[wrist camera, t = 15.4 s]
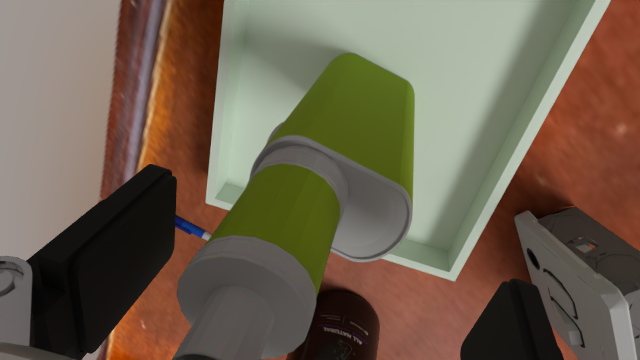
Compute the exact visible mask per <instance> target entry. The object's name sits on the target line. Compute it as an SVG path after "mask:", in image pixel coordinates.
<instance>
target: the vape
mask: <svg viewBox="0 0 640 360" xmlns="http://www.w3.org/2000/svg"><path fill="white" fill-rule="evenodd" d="M414 117H415V93H414V89H413V87H412V85H411V83H410V82H409V81H408V80H406V79H404V78H402V77H400V76H398V75H396V74H394V73H392V72H390V71H388V70H387V69H385V68H383V67H381V66H379V65H377V64H375V63H373V62H371V61H369V60H367V59H366V58H364V57H362V56H360V55H358V54H356V53H350V52H349V53H343V54H341V55H339V56H337V57H336V58H334V59H333V60H332V61H331V62H330V64H329V65H328V66H327V67H326V69H325V70H324V71H323V72H322V74H321V75H320V76H319V78H318V79H317V80H316V82H315V83H314V84H313V85H312V87H311V88H310V89H309V91H308V92H307V93H306V94H305V96H304V97H303V98H302V100H301V101H300V102H299V103H298V105H297V106H296V107H295V109H294V110H293V111H292V112H291V114H290V115H289V116H288V118H287V119H286V120H285V122H282V123H280V124H279V125H278V126H277V127H276V128H275V129H274V130H273V131H272V133H271V135H270V136H269V138H268V141H267V143H266V145H265V147H264V149H263V150H262V151H261V153H260V154H259V155H258V157H257V158H256V160H255V162H254V164H253V166H252V169H251V173H250V178H249V181H248V184H247V186H246V189H245V190H244V191H243V193H242V194H241V196H240V197H239V198H238V200H237V201H236V203H235V204H234V205H233V207H232V208H231V210H230V211H229V212H228V214H227V215H226V216H225V218H224V219H223V221H222V222H221V223H220V225H219V226H218V228H217V229H216V230H215V232H214V233H213V235H212V236H211V237H210V239H209V240H208V241H207V243H206V244H205V246H203V247H201V249H200V250H199V251H198V253H197V254H196V255H195V257H194V258H193V259H192V261H191V262H190V263H189V265H188V267H187V268H186V269H185V271H184V272H183V274H182V276H181V277H180V279H179V281H178V290H177V297H178V301H179V304H180V308H181V311H182V313H183V314H184V316H185V317H186V319H187V320H188V322H189V323H190V325H191V326H192V327H191V329H190V330H189V332H188V334H187V335H186V337H185V339H184V340H183V342H182V344H181V345H180V347H179V349H178V350H177V352H176V354H175V355H174V357H173V359H172V360H260V359H263V358H276V357H280V356H282V355H285V354H288V353H290V352H293V351H294V350H295V349H296V348H297V347H298V346H299V345H300V344H302V343H303V342H304V341H305V338H306V336H307V333H308V330H309V328H310V324H311V322H312V318H313V315H314V311H315V307H316V298H317V295H318V291H319V288H320V284H321V281H322V278H323V274H324V271H325V267H326V264H327V260H328V257H329V253H330V251H332V252H334V253H336V254H338V255H340V256H342V257H344V258H346V259H348V260H350V261H354V262H370V261H374V260H377V259H380V258H382V257H384V256H386V255H388V254H389V253H391V252H392V251H393V250H394V249H396V248H397V247H398V246H399V245H400V244H401V242H402V241H403V240H404V238H405V237H406V235H407V233H408V231H409V229H410V226H411V222H412V215H413V168H414Z"/></svg>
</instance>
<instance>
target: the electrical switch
mask: <svg viewBox="0 0 640 360" xmlns="http://www.w3.org/2000/svg"><path fill="white" fill-rule="evenodd" d="M514 221H515V224H516V228H517V232H518V235H519V239H520V242H521V246H522V249H523V253H524V256H525V260H526V263H527V267H528V271H529V274H530V278H531V281H532V284H534V285H536V286H537V287H538V289H539V292H540V295H541V298H542V301H543V304H544V307H545V310H546V313H547V316H548V319H549V322H550V324H551V325H552V327H553V328H554V329H555V331H556V332H557V333H558V334H559V335H560V337H561V338H562V339H563V340H564V342H565V343H566V344H567V345H568V347H569V348H570V349H571V350H572V351H573V353H574V354H575V355H576V356H577V358H578V359H579V360H640V251H638V250H637V249H635V248H634V247H632V246H631V245H630V244H628V243H627V242H625V241H624V240H622V239H621V238H620V237H618V236H617V235H615V234H614V233H613V232H611V231H610V230H608V229H607V228H605V227H604V226H603V225H601V224H600V223H598V222H597V221H595V220H594V219H593V218H591V217H590V216H588V215H587V214H586V213H584V212H583V211H581V210H580V209H578V208H577V207H576V206H575V207H573V208H570V209H567V210H565V211H562V212H559V213H556V214H551V215H547V216H545V217H542V218H539V219H536V218H535V217H534V216H533V215H532V214H531V213H530V211H524V212H522V213H520V214H518V215H516V216H515V218H514ZM583 236H585V237H583ZM581 237H583V238H582V239H581ZM589 243H590V244H592V245H594V246H597V247H595V248H594V249H591V248H590V247H589V246H588V245H589Z"/></svg>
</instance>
